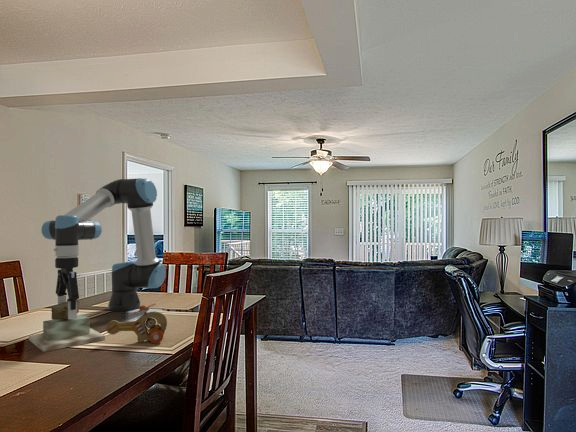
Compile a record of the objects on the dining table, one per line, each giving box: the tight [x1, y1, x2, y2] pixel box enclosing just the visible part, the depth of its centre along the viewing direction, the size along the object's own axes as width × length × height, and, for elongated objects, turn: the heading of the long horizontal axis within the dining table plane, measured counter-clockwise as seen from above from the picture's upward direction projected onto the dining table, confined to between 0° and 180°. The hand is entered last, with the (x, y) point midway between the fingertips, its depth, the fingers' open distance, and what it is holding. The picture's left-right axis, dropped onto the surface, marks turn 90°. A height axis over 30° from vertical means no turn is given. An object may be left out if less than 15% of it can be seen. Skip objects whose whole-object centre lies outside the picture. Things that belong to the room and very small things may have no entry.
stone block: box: [51, 300, 80, 320], centre depth 152 cm, size 6×12×5 cm, turn 6°
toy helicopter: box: [105, 303, 168, 345], centre depth 149 cm, size 8×21×14 cm, turn 102°
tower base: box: [28, 314, 106, 353], centre depth 152 cm, size 20×20×8 cm
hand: (66, 316), depth 152 cm, fingers closed on stone block, 12 cm apart
